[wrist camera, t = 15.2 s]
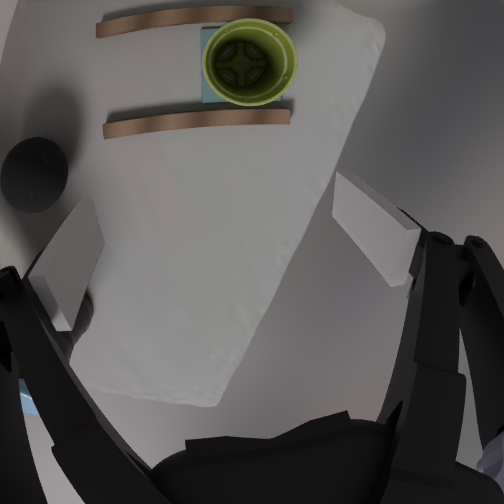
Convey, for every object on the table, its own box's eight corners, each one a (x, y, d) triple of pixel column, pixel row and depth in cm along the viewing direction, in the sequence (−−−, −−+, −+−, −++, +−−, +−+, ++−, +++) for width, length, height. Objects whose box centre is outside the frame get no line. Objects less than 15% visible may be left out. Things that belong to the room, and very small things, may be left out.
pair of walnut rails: (107, 137, 34) (104, 139, 33) (99, 25, 25) (95, 23, 24) (287, 122, 37) (290, 124, 36) (288, 10, 28) (291, 8, 27)
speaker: (19, 184, 34) (-15, 214, 26) (30, 122, 30) (-9, 141, 22) (70, 202, 38) (43, 237, 30) (86, 140, 34) (55, 162, 25)
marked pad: (202, 102, 34) (202, 103, 34) (200, 29, 28) (200, 29, 28) (280, 100, 35) (280, 101, 35) (281, 30, 30) (281, 29, 29)
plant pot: (293, 61, 32) (316, 60, 25) (245, 113, 35) (256, 123, 28) (236, 17, 28) (246, 1, 21) (187, 70, 31) (181, 69, 24)
